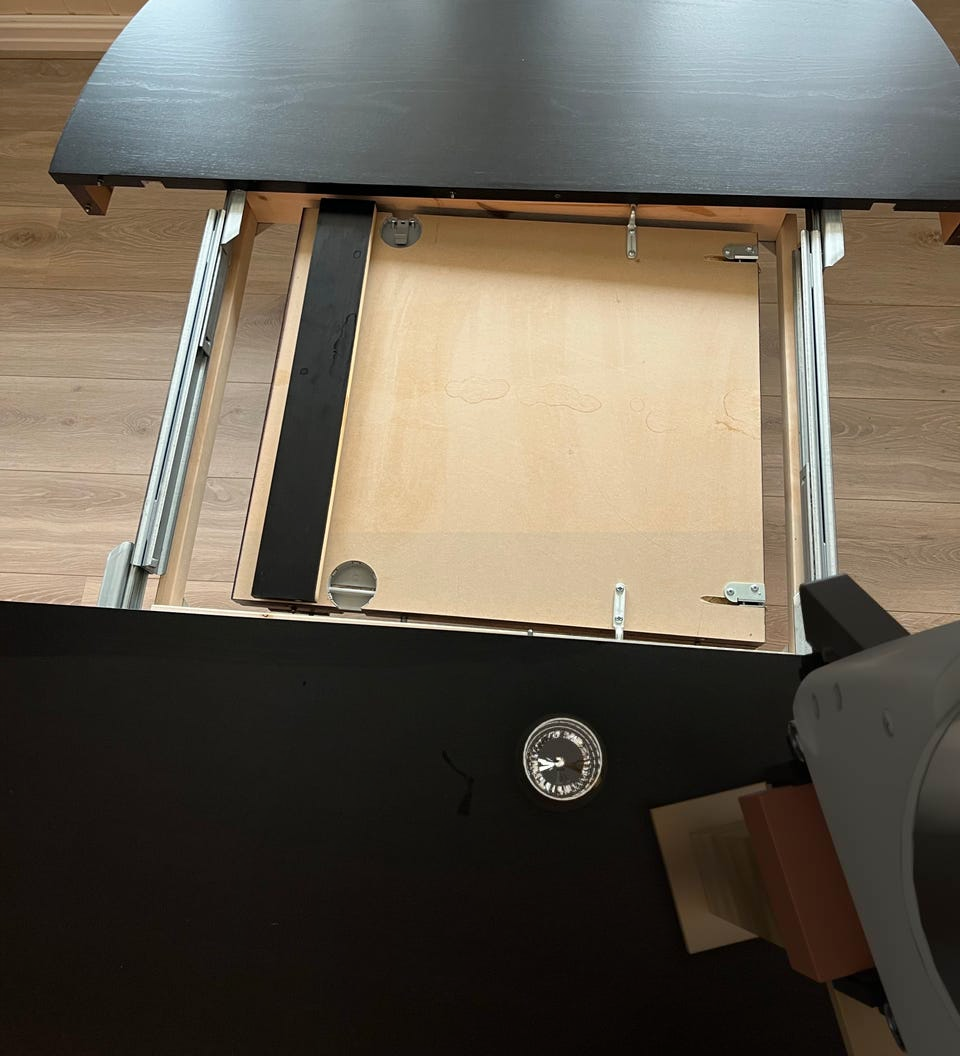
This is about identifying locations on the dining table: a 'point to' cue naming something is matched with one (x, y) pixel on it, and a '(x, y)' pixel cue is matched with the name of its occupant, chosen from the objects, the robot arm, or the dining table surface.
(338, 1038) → the dining table surface
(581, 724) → the wineglass
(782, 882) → the block
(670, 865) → the pedestal
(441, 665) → the dining table surface
